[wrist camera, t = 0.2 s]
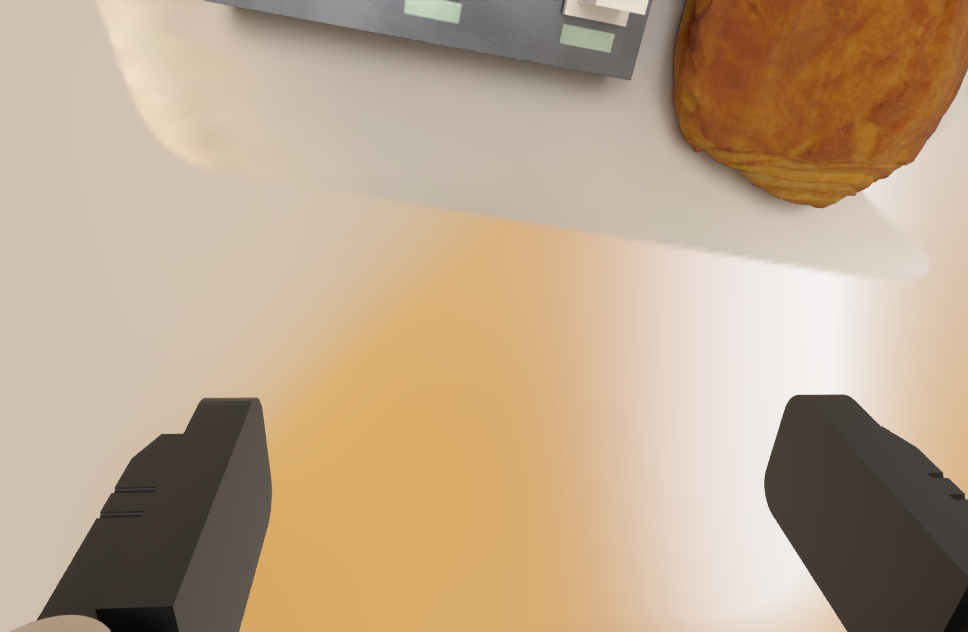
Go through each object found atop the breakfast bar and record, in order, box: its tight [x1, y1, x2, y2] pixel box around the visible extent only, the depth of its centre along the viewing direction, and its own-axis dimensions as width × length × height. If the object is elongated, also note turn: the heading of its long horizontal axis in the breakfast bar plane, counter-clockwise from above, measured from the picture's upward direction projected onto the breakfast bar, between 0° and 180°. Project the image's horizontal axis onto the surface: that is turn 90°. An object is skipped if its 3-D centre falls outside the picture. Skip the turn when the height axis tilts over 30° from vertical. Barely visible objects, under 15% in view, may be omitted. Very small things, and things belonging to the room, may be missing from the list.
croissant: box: [673, 0, 968, 208], centre depth 32 cm, size 14×16×8 cm
